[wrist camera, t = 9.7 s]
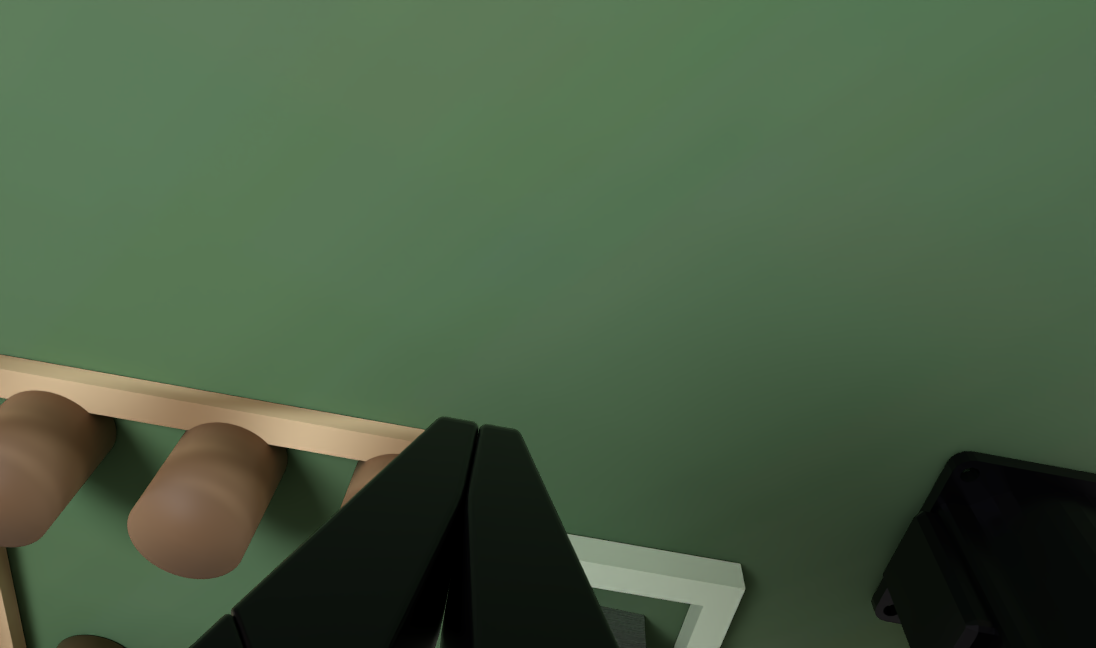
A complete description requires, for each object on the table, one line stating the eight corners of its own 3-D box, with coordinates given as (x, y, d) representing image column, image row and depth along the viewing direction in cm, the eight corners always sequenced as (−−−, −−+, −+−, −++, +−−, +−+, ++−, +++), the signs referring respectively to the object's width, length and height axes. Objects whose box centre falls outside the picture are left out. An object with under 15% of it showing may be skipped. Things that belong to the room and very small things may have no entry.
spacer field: (481, 439, 24) (465, 527, 21) (425, 749, 32) (407, 846, 29) (-72, 341, 23) (-172, 418, 20) (6, 683, 31) (-58, 775, 28)
